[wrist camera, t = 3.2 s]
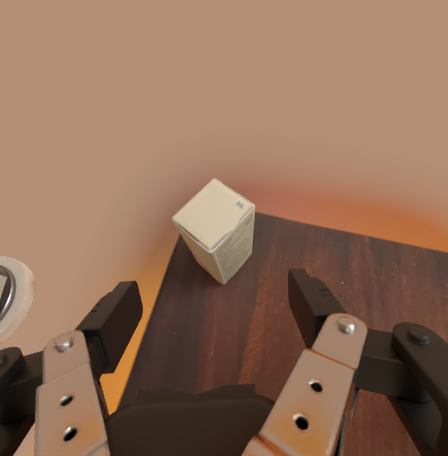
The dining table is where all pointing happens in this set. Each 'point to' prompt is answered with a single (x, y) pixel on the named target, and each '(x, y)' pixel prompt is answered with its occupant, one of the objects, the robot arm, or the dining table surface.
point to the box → (218, 229)
